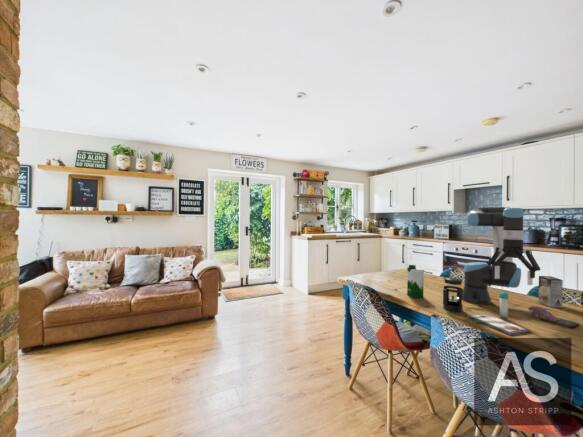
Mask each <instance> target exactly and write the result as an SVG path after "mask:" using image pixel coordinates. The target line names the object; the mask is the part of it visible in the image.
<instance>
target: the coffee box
mask: <svg viewBox="0 0 583 437" xmlns="http://www.w3.org/2000/svg"><path fill="white" fill-rule="evenodd" d="M563 282H564V281H563V279H561V278H558V277H555V276H550V275H548V276H547V275H538V302H539V303H540V304H542V305H545V306H548V307H550V308H561V307H562V308H563V285H564V284H563Z"/></svg>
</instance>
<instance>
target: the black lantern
mask: <svg viewBox="0 0 583 437" xmlns="http://www.w3.org/2000/svg"><path fill="white" fill-rule="evenodd" d="M448 269H449V270H451V272H452V273H455V271H457V270H458V268H456V267H448ZM443 280H444V283H445V284H448V285H444V286H443V288H442V289H443V290H442V305H443V306H442V309H443V310H445V311H447V312H450V313H459V314H460V313H463V312H464V310H463V309H464V308H463V306H464V305H463V304H462V303H463V299H462V292H463V288H462V287H460V286H461V285H462V284H463V282H464V280H463V279H462V278H458V277H453V276H451V277H450V276H449V277H447V276H446V277H443ZM458 286H459V287H458ZM450 293H456V295H455V296H454V295H450Z"/></svg>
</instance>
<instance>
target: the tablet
mask: <svg viewBox="0 0 583 437" xmlns="http://www.w3.org/2000/svg"><path fill="white" fill-rule="evenodd" d="M466 318H468V319H470V320H472V321H475V322H477V323H479V324H481V325H484V326H486V327H489V328H491V329H493V330H496V331H498V332H501V333H502V334H505V335H508V336H516V335H517V336H518V335H524V334H525V335H526V334H531V333H532V330H530V329H528V328H525V327H522V326H520V325H517V324H515V323H511V322H508V321H507V320H504V319H501V318H500V317H495V316H493V315H491V314H487V313H481V314H479V313H478V314H471V315H467V316H466Z"/></svg>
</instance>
